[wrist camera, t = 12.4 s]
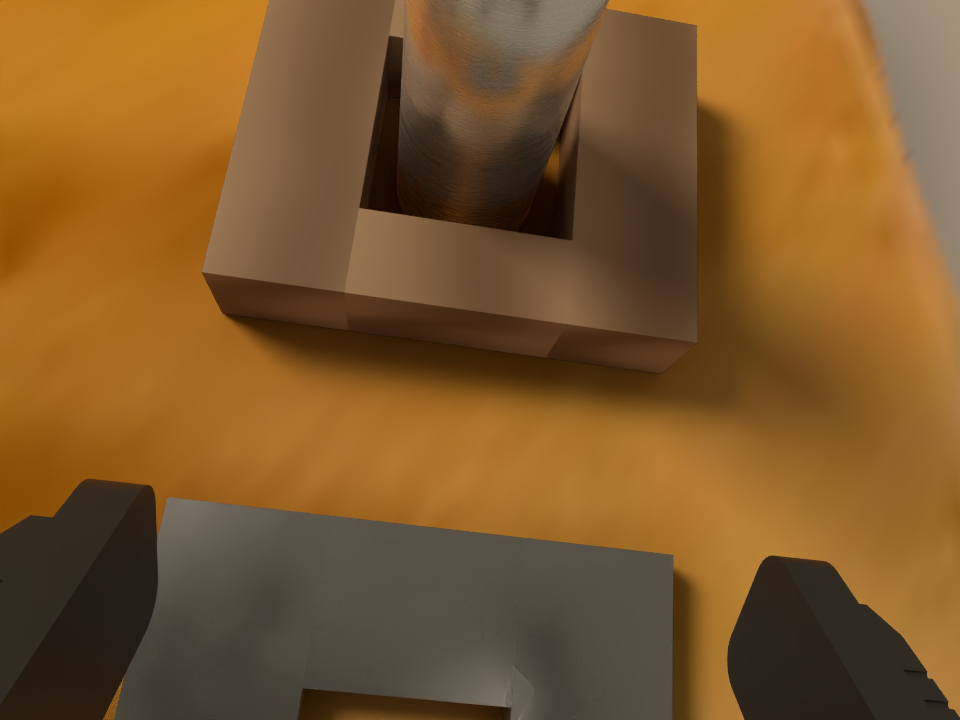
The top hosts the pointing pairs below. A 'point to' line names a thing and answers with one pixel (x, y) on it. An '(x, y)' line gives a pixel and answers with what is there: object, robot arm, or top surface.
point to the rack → (453, 246)
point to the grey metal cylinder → (486, 103)
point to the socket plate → (395, 619)
